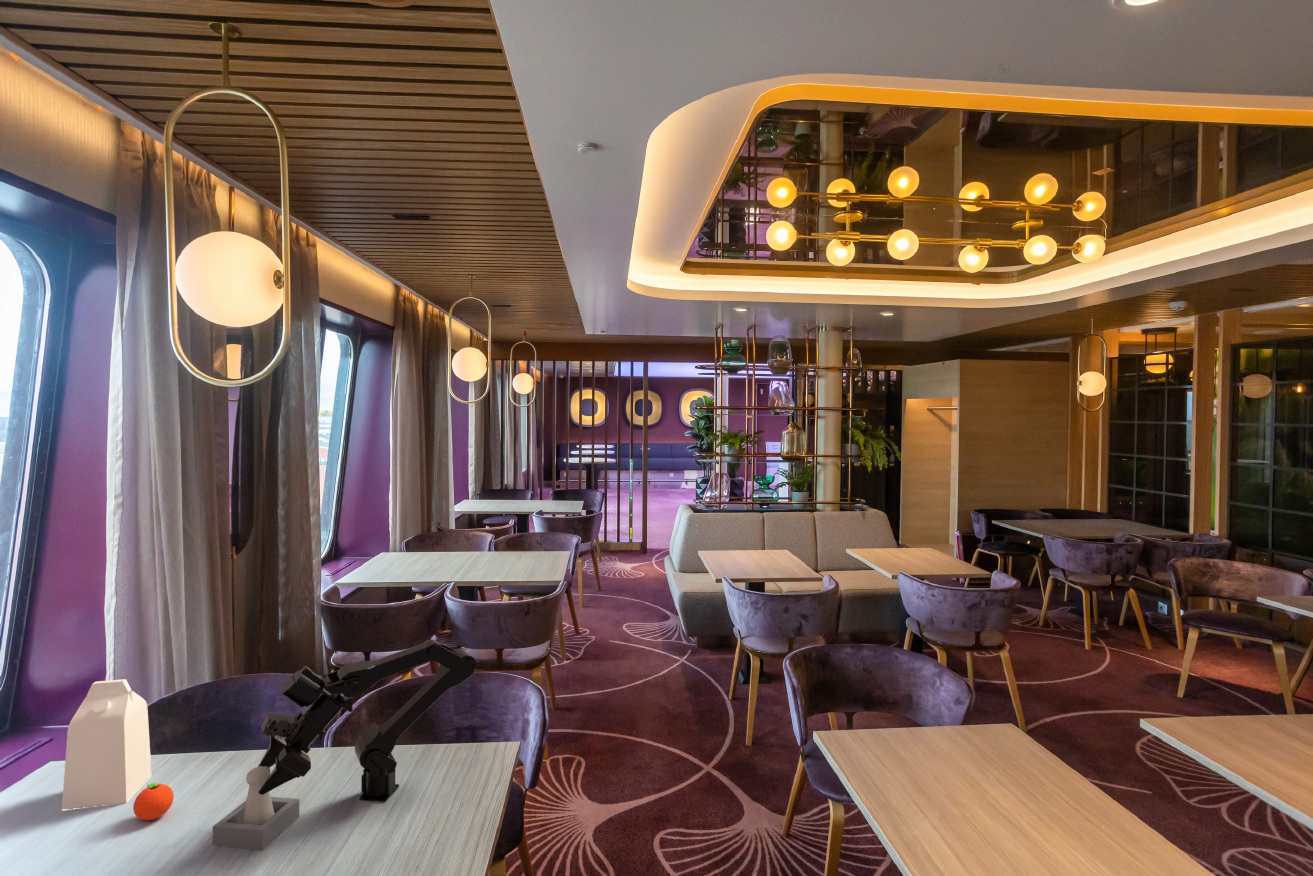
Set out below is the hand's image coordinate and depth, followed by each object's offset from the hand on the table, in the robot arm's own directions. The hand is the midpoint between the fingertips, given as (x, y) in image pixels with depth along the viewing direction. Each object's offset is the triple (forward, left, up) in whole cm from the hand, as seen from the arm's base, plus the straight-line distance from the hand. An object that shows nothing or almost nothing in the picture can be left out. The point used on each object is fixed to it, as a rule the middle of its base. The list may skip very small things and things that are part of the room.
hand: (258, 783), depth 133 cm
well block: (0, 0, -10) cm, 10 cm away
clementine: (+26, -2, -10) cm, 28 cm away
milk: (+44, -9, -10) cm, 46 cm away
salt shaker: (0, 0, -10) cm, 10 cm away
